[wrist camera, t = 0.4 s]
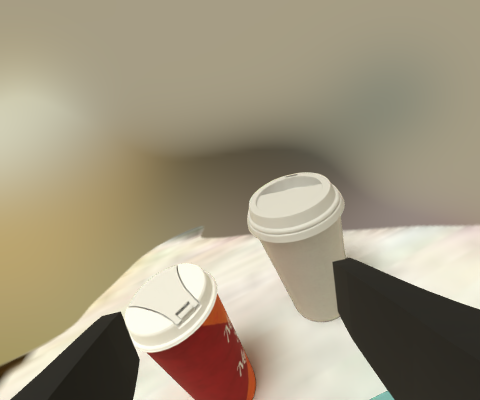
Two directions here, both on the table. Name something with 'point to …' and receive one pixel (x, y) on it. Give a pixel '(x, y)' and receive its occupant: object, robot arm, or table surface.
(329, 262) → the coffee cup
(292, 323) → the table surface
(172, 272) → the paper cup
